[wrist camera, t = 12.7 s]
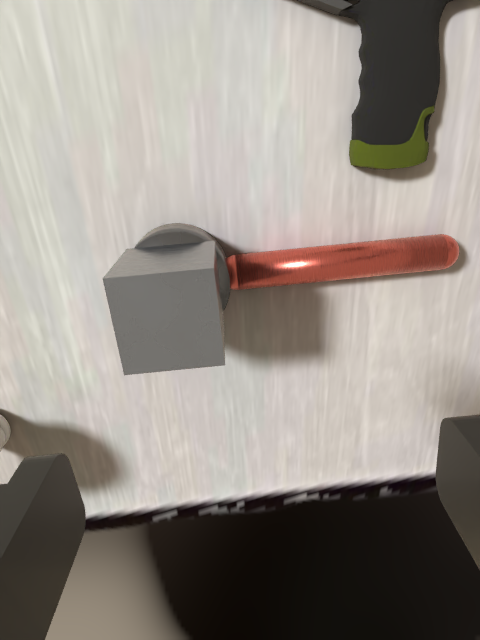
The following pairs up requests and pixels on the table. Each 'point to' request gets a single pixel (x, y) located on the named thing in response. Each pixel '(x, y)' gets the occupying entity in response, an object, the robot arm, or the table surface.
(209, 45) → the table surface
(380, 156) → the gun
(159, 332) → the grey bevelled cube
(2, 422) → the light bulb
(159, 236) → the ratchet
